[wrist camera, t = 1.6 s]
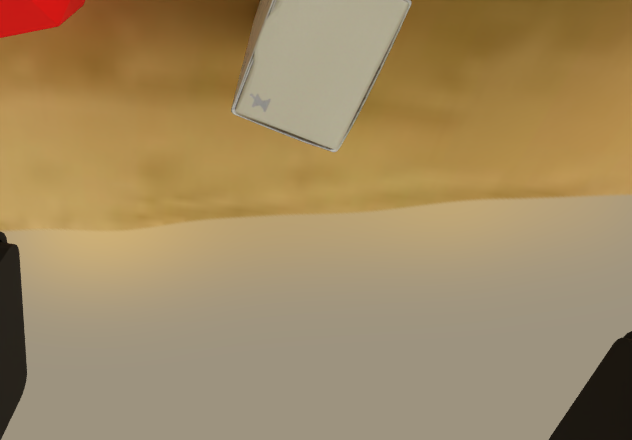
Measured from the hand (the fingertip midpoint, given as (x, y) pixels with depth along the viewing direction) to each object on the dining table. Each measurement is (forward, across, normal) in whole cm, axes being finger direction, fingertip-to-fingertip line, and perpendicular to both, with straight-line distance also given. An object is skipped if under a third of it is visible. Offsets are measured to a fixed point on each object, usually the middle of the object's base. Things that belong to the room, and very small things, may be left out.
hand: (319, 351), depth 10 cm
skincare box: (+26, 0, 0) cm, 26 cm away
